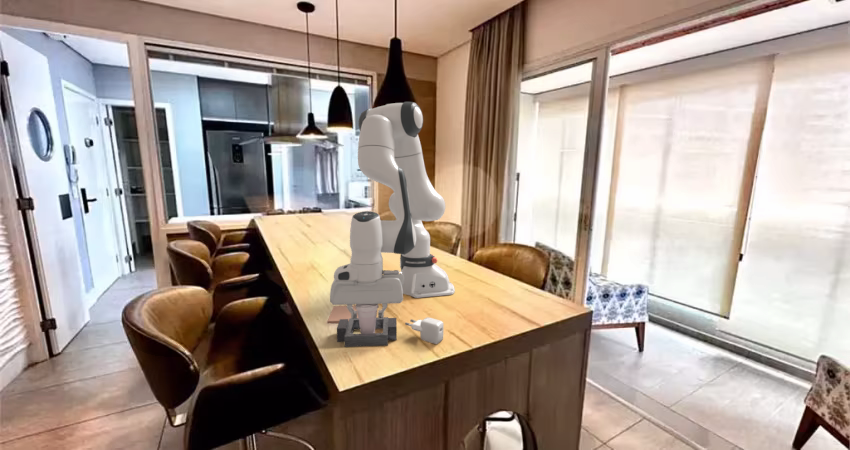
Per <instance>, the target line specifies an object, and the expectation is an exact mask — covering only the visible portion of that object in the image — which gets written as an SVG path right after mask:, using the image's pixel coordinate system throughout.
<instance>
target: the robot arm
mask: <svg viewBox="0 0 850 450" xmlns="http://www.w3.org/2000/svg"><path fill="white" fill-rule="evenodd" d="M357 124H358V130H359V136H358V145H357V164H358V165H357V166H358V168H359V170H360V171H361V173H362V174H363V175H364V176H365V177H366V178H368V179H370V180H372V181H374V182H376V183H379V184H381V185H384V186H386V187H388V188H390V189H391V190H392V191H393V192H392V193H391V195H390V197H389V200H388V208H389V211H390V212H391V213H392V214H393V216H394V217H395V219H394V220H387V219H386V220H385V219H384V220H383V219H382V220H381V217H380V214H378V213H377V212H375V211H370V210H369V211H368V210H367V211H359V212H356V213H355V214H353V215H352V218H351V221H350V222H351V223H350V231H349V248H350V251H351V256H350V261H349V263H348V264H345V265H340V266H339V267H337V268H336V269H335V271H334V273H333V281H332V283H331V285H330V286H331V287H330V293H329V301H330V303H331V304H332V305H333V306H347V309H348V310H349V311H350V313H351V319H357V311H354V310H353V308H352V306H354V305H356V304H378V305H382V306H381V307H382V308H381V309H379V310H378V309H377V315H378V316H377V317H378V318H383V317H384V316H385V315H384V313H385V311H386V310H387V308H388V304H401V303H402V302H403V301H404V295H407V296H411V297H413V298H415V299H419V298H429V297H438V296H439V297H440V296H449V295H450V296H451V295H453V294H454V293H456V292H455V291H456V290H455V286H454V284H453V283H452V282H450V279H449V276H448V274H447V272H446V271H445V270H444V269H443V268H441V267H440V266H439V265H437V262H438V259H437V257H436V256H435V255H434V254H431V235H430V233H429V231H428V230H427V229H426V228H425V226H424V223H423V222H433V221H438V220H440V219H442V217H443V216H444V215H445V212H446V200H445V199H444V197H443V195H441V194H440V193H439V192H437V190H436V189H435V188H434V186H433V184H432V183H431V180H430V178H429V177H428V174H427V170H426V165H425V161H424V154H423V149H422V144H421V141H420V140H421V139H420V137H419V133H420V132H421V130H422V128H423V125H424V116H423V112H422V109H421V107H420V106H419V105H418V104H417V103H416V102H413V101H404V102H395V103H386V104H385V105H381V106H377V107H374V108H372V107H370V108H368V109H365V110H364V111H362V112H361V114H360V115H359V118H358V123H357ZM383 253H384V254H385V253H387V254H395V255H396V254H397V255H400V257H399V268H400V270H398V269H394V270H389V269H388V270H384V267H383V265H384V263H383V262H384V261H383V260H384V259H383V255H382V254H383Z"/></svg>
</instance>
